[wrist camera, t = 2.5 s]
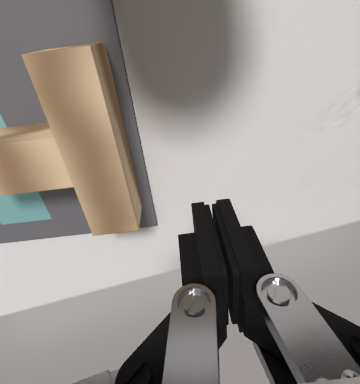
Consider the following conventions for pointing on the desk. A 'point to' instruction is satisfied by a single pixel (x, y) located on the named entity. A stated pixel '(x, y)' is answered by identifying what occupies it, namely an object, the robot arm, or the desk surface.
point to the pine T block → (75, 139)
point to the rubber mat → (31, 107)
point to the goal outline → (21, 205)
